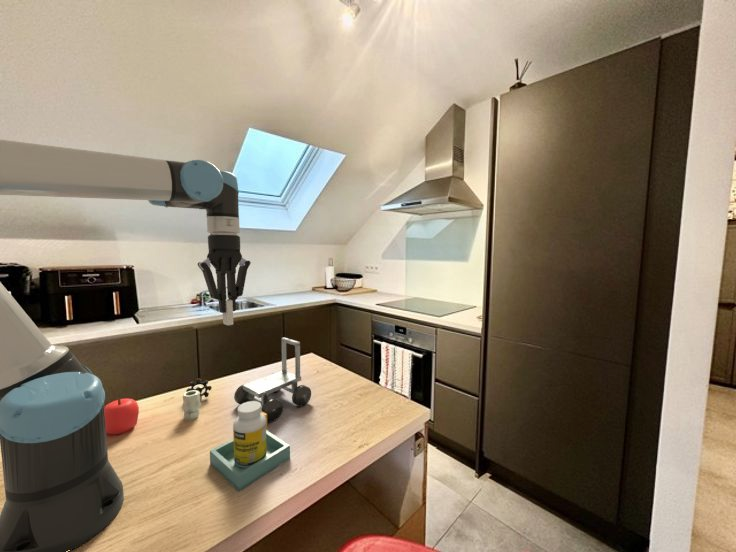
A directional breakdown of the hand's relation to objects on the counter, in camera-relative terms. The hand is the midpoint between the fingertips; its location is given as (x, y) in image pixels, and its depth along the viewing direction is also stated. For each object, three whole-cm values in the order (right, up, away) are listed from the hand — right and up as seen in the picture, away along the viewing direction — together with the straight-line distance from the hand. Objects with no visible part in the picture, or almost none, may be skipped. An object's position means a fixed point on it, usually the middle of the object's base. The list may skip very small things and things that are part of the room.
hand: (228, 324), depth 80 cm
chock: (+9, -26, -4) cm, 28 cm away
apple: (-24, -26, -5) cm, 36 cm away
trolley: (+10, -25, +8) cm, 28 cm away
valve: (-12, -25, +5) cm, 28 cm away
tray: (+12, -27, -16) cm, 33 cm away
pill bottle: (+12, -26, -16) cm, 33 cm away
